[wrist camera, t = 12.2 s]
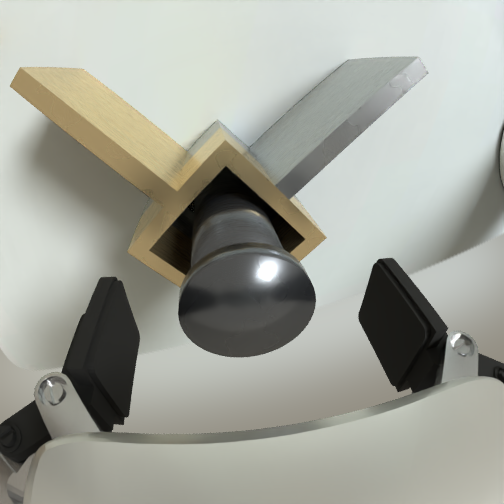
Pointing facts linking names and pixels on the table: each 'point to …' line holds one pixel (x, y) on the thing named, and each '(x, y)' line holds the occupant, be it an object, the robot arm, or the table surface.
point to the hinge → (219, 150)
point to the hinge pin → (241, 276)
